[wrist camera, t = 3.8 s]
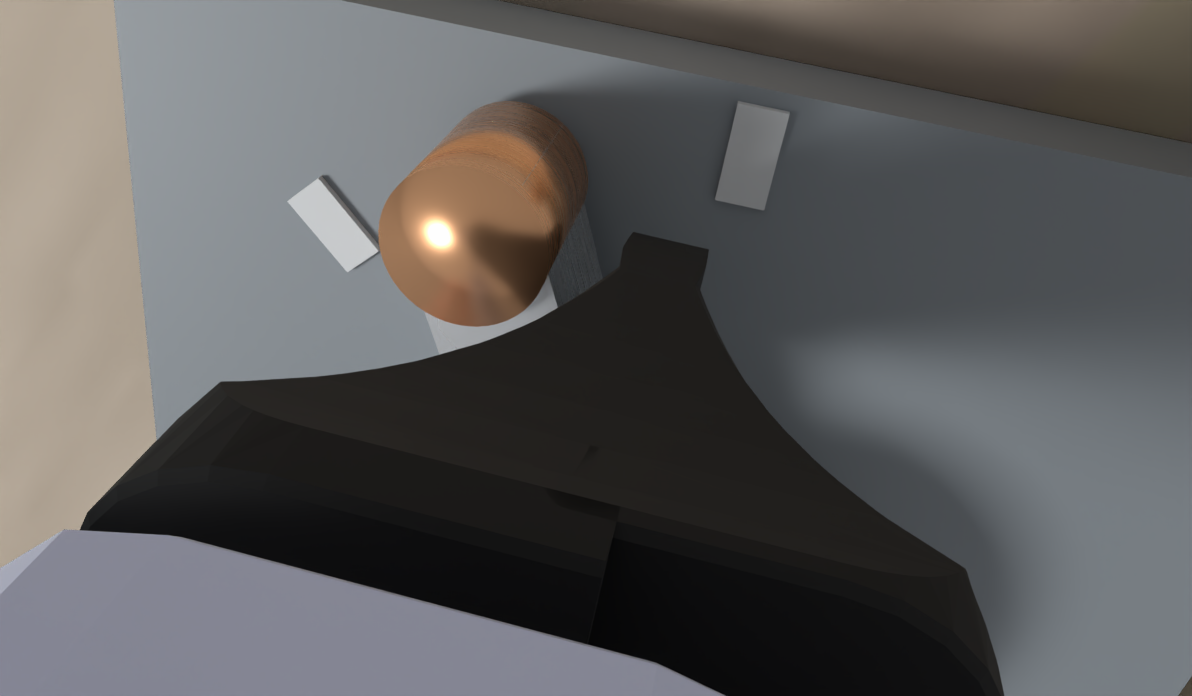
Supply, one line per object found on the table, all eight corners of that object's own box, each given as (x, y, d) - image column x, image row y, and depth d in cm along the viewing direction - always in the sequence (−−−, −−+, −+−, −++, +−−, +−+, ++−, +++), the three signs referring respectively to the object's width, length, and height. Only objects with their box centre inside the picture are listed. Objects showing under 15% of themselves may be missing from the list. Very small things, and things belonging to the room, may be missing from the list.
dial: (877, 742, 16) (887, 873, 14) (503, 746, 17) (467, 864, 16) (768, 48, 11) (761, 105, 9) (258, 150, 12) (162, 217, 11)
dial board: (962, 909, 20) (974, 991, 19) (226, 714, 21) (186, 778, 20) (1424, 191, 12) (1504, 245, 11) (176, -66, 13) (103, -47, 12)
